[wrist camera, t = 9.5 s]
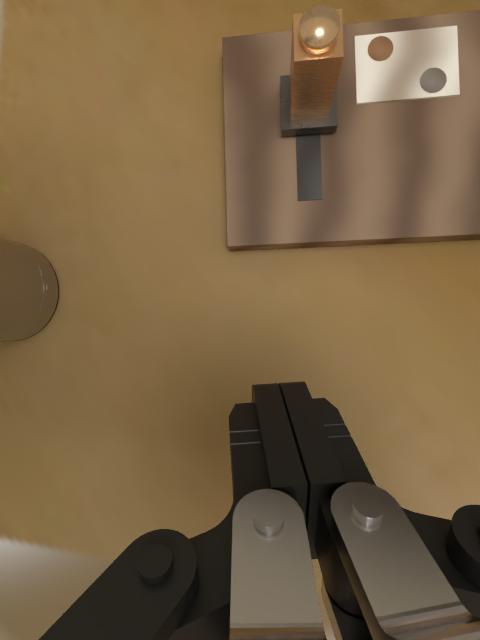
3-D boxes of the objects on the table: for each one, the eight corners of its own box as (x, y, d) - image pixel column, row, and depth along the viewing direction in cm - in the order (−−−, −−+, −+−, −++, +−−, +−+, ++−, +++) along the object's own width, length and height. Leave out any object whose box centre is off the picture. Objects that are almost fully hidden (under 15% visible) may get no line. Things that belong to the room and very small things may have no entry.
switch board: (230, 251, 33) (227, 245, 30) (225, 55, 33) (221, 34, 31) (592, 234, 30) (619, 226, 27) (582, 18, 30) (608, -7, 28)
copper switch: (281, 136, 30) (283, 64, 22) (280, 84, 30) (281, -8, 22) (335, 132, 30) (358, 56, 21) (334, 79, 30) (356, -17, 21)
